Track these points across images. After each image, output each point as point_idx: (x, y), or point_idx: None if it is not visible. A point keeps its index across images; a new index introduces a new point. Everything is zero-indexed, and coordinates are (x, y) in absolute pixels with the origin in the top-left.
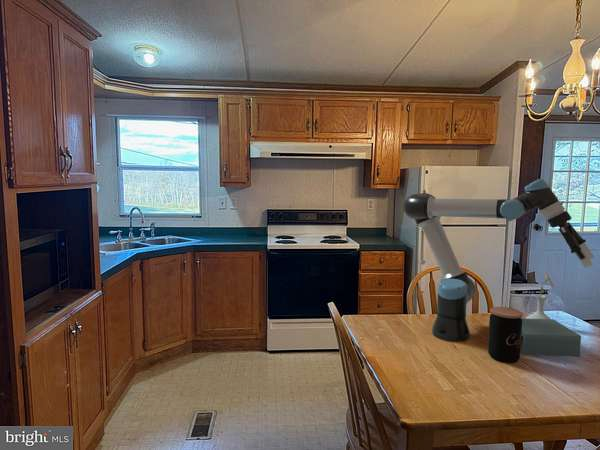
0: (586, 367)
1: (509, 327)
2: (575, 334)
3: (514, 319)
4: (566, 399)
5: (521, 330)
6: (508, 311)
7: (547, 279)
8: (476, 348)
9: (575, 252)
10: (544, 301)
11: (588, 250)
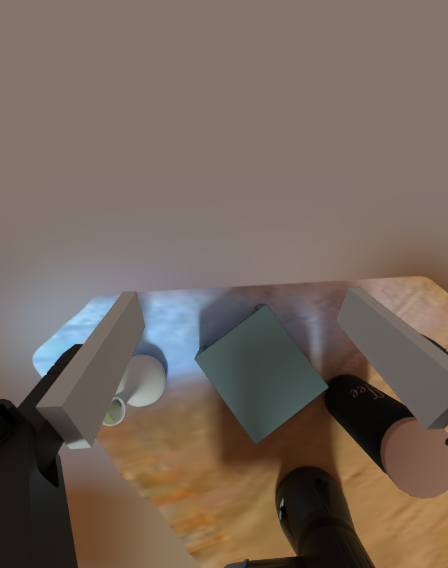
0: (297, 292)
1: None
2: (265, 313)
3: None
4: (417, 303)
5: (382, 398)
6: (420, 453)
7: None
8: (338, 441)
9: (445, 419)
10: (117, 394)
11: (112, 337)
